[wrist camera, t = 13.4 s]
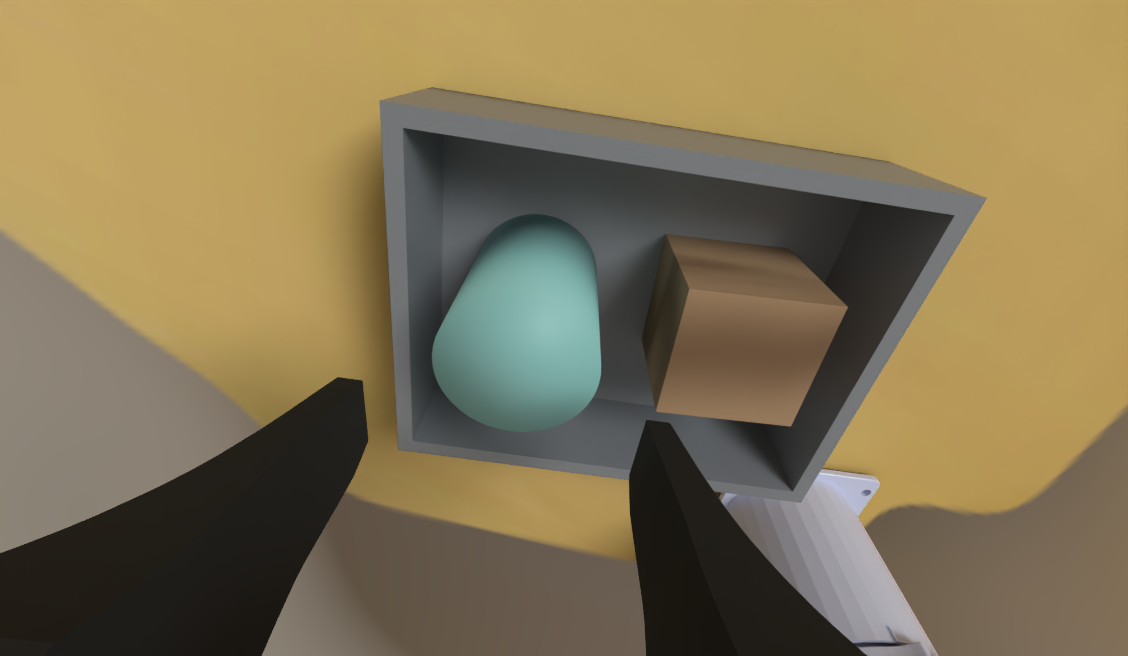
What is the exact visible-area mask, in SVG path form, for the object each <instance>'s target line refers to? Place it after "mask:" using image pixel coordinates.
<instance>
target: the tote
mask: <svg viewBox="0 0 1128 656" xmlns="http://www.w3.org/2000/svg"><path fill="white" fill-rule="evenodd" d="M380 116H381V135H382V153H383V172H384V191H385V209H386V228H387V247H388V265H389V284H390V303H391V321H392V340H393V359H394V377H395V396H396V415H397V433H398V450H404V451H411V452H419V453H427V454H434V455H442V456H449V457H457V458H465V459H472V460H480V461H487V462H495V463H502V464H510V465H518V466H525V467H533V468H540V469H548V470H556V471H563V472H571V473H578V474H586V475H594V476H601V477H609V478H616V479H624V480H629V474H630V471H631V467H632V464H633V461H634V458H635V454H636V451H637V448H638V445H639V442H640V438H641V435H642V432H643V429H644V425H645V422H646V420H653V421H660V422H668V423H670V424H671V425H672V427H673V428H674V430H675V431H676V433H677V435H678V436H679V438H680V440H681V441H682V443H683V444H684V446H685V448H686V449H687V451H688V453H689V454H690V456H691V457H692V459H693V461H694V462H695V464H696V465H697V467H698V468H699V470H700V471H701V473H702V474H703V476H704V477H705V479H706V480H707V482H708V483H709V485H710V486H711V488H712V489H713V491H715V492H723V493H730V494H738V495H745V496H753V497H761V498H768V499H776V500H783V501H791V502H799V503H801V502H802V500H803V499H804V497H805V495H806V494H807V492H808V491H809V489H810V487H811V486H812V484H813V482H814V481H815V479H816V477H817V476H818V474H819V473H820V471H821V469H822V468H823V466H824V464H825V463H826V461H827V459H828V458H829V456H830V455H831V453H832V451H833V450H834V448H835V446H836V445H837V443H838V441H839V440H840V438H841V436H842V435H843V433H844V432H845V430H846V428H847V427H848V425H849V423H850V422H851V420H852V418H853V417H854V415H855V414H856V412H857V410H858V409H859V407H860V405H861V404H862V402H863V400H864V399H865V397H866V395H867V394H868V392H869V391H870V389H871V387H872V386H873V384H874V382H875V381H876V379H877V377H878V376H879V374H880V373H881V371H882V369H883V368H884V366H885V364H886V363H887V361H888V359H889V358H890V356H891V355H892V353H893V351H894V350H895V348H896V346H897V345H898V343H899V341H900V340H901V338H902V336H903V335H904V333H905V332H906V330H907V328H908V327H909V325H910V323H911V322H912V320H913V318H914V317H915V315H916V314H917V312H918V310H919V309H920V307H921V305H922V304H923V302H924V300H925V299H926V297H927V295H928V294H929V292H930V291H931V289H932V287H933V286H934V284H935V282H936V281H937V279H938V277H939V276H940V274H941V273H942V271H943V269H944V268H945V266H946V264H947V263H948V261H949V259H950V258H951V256H952V255H953V253H954V251H955V250H956V248H957V246H958V245H959V243H960V241H961V240H962V238H963V236H964V235H965V233H966V232H967V230H968V228H969V227H970V225H971V223H972V222H973V220H974V218H975V217H976V215H977V214H978V212H979V210H980V209H981V207H982V205H983V204H984V202H985V200H986V199H987V198H985V197H982V196H980V195H977V194H974V193H972V192H969V191H966V190H964V189H961V188H958V187H956V186H953V185H950V184H948V183H945V182H942V181H940V180H937V179H934V178H932V177H929V176H926V175H924V174H921V173H918V172H916V171H913V170H910V169H908V168H905V167H902V166H900V165H897V164H894V163H891V162H888V161H882V160H876V159H870V158H864V157H857V156H851V155H845V154H839V153H833V152H827V151H820V150H814V149H808V148H802V147H796V146H790V145H784V144H777V143H771V142H765V141H759V140H753V139H747V138H740V137H734V136H728V135H722V134H716V133H710V132H703V131H697V130H691V129H685V128H679V127H673V126H667V125H660V124H654V123H648V122H642V121H636V120H630V119H623V118H617V117H611V116H605V115H599V114H593V113H587V112H580V111H574V110H568V109H562V108H556V107H550V106H543V105H537V104H531V103H525V102H519V101H513V100H506V99H500V98H494V97H488V96H482V95H476V94H470V93H463V92H457V91H451V90H445V89H439V88H433V87H431V88H427V89H423V90H419V91H415V92H412V93H408V94H404V95H400V96H396V97H392V98H388V99H384V100H380ZM527 214H543V215H549V216H553V217H556V218H558V219H561V220H563V221H565V222H567V223H569V224H570V225H572V226H573V227H574V228H576V229H577V230H578V231H579V232H580V233H581V234H582V235H583V236H584V238H585V239H586V240H587V242H588V243H589V245H590V247H591V249H592V251H593V254H594V257H595V261H596V268H597V289H598V309H599V330H600V350H601V377H600V382H599V385H598V388H597V391H596V393H595V394H594V396H593V398H592V400H591V401H590V402H589V404H588V405H587V406H586V407H585V408H584V409H583V410H582V411H581V412H580V413H579V414H577V415H576V416H575V417H573V418H572V419H570V420H568V421H567V422H565V423H563V424H560V425H558V426H556V427H552V428H549V429H545V430H540V431H531V432H515V431H506V430H501V429H497V428H494V427H490V426H487V425H485V424H483V423H480V422H478V421H476V420H474V419H472V418H471V417H469V416H467V415H466V414H464V413H463V412H462V411H460V410H459V409H458V408H457V407H456V406H455V405H453V403H452V402H451V401H450V400H449V399H448V398H447V397H446V395H445V394H444V392H443V391H442V390H441V388H440V386H439V384H438V382H437V380H436V377H435V374H434V370H433V365H432V350H433V344H434V340H435V337H436V335H437V333H438V331H439V329H440V327H441V325H442V323H443V321H444V319H445V317H446V315H447V313H448V311H449V309H450V308H451V306H452V304H453V302H454V300H455V298H456V296H457V294H458V292H459V290H460V288H461V286H462V285H463V283H464V281H465V279H466V277H467V275H468V273H469V271H470V269H471V267H472V265H473V263H474V262H475V260H476V258H477V256H478V254H479V252H480V250H481V248H482V246H483V244H484V242H485V241H486V239H487V238H488V236H489V235H490V234H491V233H492V231H493V230H494V229H495V228H497V227H498V226H499V225H500V224H502V223H504V222H505V221H507V220H509V219H512V218H514V217H517V216H521V215H527ZM666 234H671V235H680V236H688V237H696V238H705V239H713V240H722V241H730V242H739V243H747V244H756V245H764V246H773V247H781V248H789V249H790V250H791V251H792V252H793V253H794V254H795V255H796V256H797V257H798V258H799V259H800V260H801V261H802V262H803V263H804V264H805V265H806V266H807V267H808V268H809V269H810V270H811V271H812V272H813V273H814V274H815V275H816V276H817V277H818V278H819V279H820V280H821V281H822V282H823V283H824V284H825V285H826V286H827V287H828V288H829V289H830V290H831V291H832V292H833V293H834V294H835V295H836V296H837V297H838V298H839V299H840V300H841V301H842V302H843V303H844V304H845V305H846V306H847V307H848V308H847V310H846V312H845V315H844V317H843V319H842V321H841V323H840V325H839V327H838V329H837V331H836V333H835V335H834V338H833V340H832V342H831V344H830V346H829V348H828V350H827V352H826V354H825V356H824V359H823V361H822V363H821V365H820V367H819V369H818V371H817V373H816V375H815V377H814V379H813V382H812V384H811V386H810V388H809V390H808V392H807V394H806V396H805V398H804V400H803V402H802V405H801V407H800V409H799V411H798V413H797V415H796V417H795V419H794V421H793V423H792V426H791V427H790V426H781V425H772V424H763V423H754V422H745V421H736V420H727V419H717V418H708V417H699V416H690V415H681V414H672V413H663V412H656V410H655V405H654V399H653V394H652V389H651V384H650V379H649V374H648V368H647V363H646V358H645V353H644V348H643V343H642V335H643V331H644V327H645V322H646V318H647V314H648V309H649V305H650V301H651V296H652V292H653V287H654V283H655V279H656V274H657V270H658V266H659V261H660V257H661V252H662V248H663V244H664V239H665V235H666Z"/></svg>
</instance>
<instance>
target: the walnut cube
mask: <svg viewBox="0 0 1128 656" xmlns="http://www.w3.org/2000/svg"><path fill="white" fill-rule="evenodd" d="M847 308H848V307H847V306H846V305H845V304H844V303H843V302H842V301H841V300H840V299H839V298H838V297H837V296H836V295H835V294H834V293H833V292H832V291H831V290H830V289H829V288H828V287H827V286H826V285H825V284H824V283H823V282H822V281H821V280H820V279H819V278H818V277H817V276H816V275H815V274H814V273H813V272H812V271H811V270H810V269H809V268H808V267H807V266H806V265H805V264H804V263H803V262H802V261H801V260H800V259H799V258H798V257H797V256H796V255H795V254H794V253H793V252H792V251H791V250H790V249H789V248H781V247H773V246H764V245H756V244H747V243H739V242H730V241H722V240H713V239H705V238H696V237H688V236H680V235H671V234H666V235H665V239H664V244H663V248H662V252H661V257H660V261H659V266H658V270H657V274H656V279H655V283H654V287H653V292H652V296H651V301H650V305H649V309H648V314H647V318H646V322H645V327H644V331H643V335H642V343H643V348H644V353H645V358H646V363H647V368H648V374H649V379H650V384H651V389H652V394H653V399H654V405H655V410H656V412H663V413H672V414H681V415H690V416H699V417H708V418H717V419H727V420H736V421H745V422H754V423H763V424H772V425H781V426H790V427H791V426H792V423H793V421H794V419H795V417H796V415H797V413H798V411H799V409H800V407H801V405H802V402H803V400H804V398H805V396H806V394H807V392H808V390H809V388H810V386H811V384H812V382H813V379H814V377H815V375H816V373H817V371H818V369H819V367H820V365H821V363H822V361H823V359H824V356H825V354H826V352H827V350H828V348H829V346H830V344H831V342H832V340H833V338H834V335H835V333H836V331H837V329H838V327H839V325H840V323H841V321H842V319H843V317H844V315H845V312H846V310H847Z"/></svg>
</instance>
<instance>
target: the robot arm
mask: <svg viewBox="0 0 1128 656" xmlns="http://www.w3.org/2000/svg"><path fill="white" fill-rule="evenodd" d="M367 442H368V432H367V422H366V412H365V402H364V392H363V381H361V380H354V379H347V378H339V377H338V378H336V379H335V380H333V381H331V382H330V383H328V384H327V385H326V386H324V387H323V388H321V389H320V390H318V391H317V392H315V393H314V394H312V395H311V396H310V397H308V398H307V399H305V400H304V401H302V402H301V403H299V404H298V405H296V406H295V407H293V408H292V409H291V410H289V411H288V412H286V413H285V414H283V415H282V416H280V417H279V418H277V419H276V420H274V421H273V422H271V423H270V424H268V425H267V426H265V427H263V428H262V429H260V430H259V431H257V432H256V433H254V434H252V435H251V436H249V437H247V438H246V439H244V440H242V441H241V442H239V443H237V444H236V445H234V446H233V447H231V448H230V449H228V450H226V451H224V452H223V453H221V454H219V455H218V456H216V457H214V458H212V459H211V460H209V461H207V462H205V463H203V464H202V465H200V466H198V467H196V468H195V469H193V470H191V471H189V472H187V473H185V474H183V475H181V476H179V477H177V478H175V479H173V480H171V481H169V482H167V483H166V484H164V485H162V486H160V487H157V488H155V489H153V490H151V491H149V492H147V493H145V494H143V495H140V496H138V497H136V498H134V499H132V500H129V501H127V502H125V503H123V504H121V505H118V506H116V507H114V508H112V509H110V510H107V511H105V512H103V513H101V514H99V515H96V516H94V517H92V518H89V519H87V520H85V521H82V522H80V523H77V524H75V525H73V526H70V527H68V528H65V529H63V530H60V531H58V532H55V533H53V534H50V535H47V536H45V537H42V538H40V539H37V540H35V541H32V542H29V543H27V544H24V545H22V546H19V547H16V548H13V549H11V550H8V551H5V552H3V553H0V656H262V653H263V651H264V649H265V647H266V644H267V642H268V639H269V637H270V635H271V633H272V630H273V628H274V626H275V624H276V621H277V619H278V617H279V615H280V612H281V610H282V608H283V606H284V604H285V602H286V599H287V597H288V595H289V593H290V591H291V588H292V586H293V584H294V582H295V580H296V578H297V576H298V574H299V572H300V570H301V568H302V566H303V564H304V563H305V561H306V559H307V557H308V555H309V554H310V552H311V550H312V548H313V547H314V545H315V543H316V541H317V540H318V538H319V536H320V534H321V533H322V531H323V529H324V528H325V526H326V524H327V522H328V521H329V519H330V517H331V515H332V514H333V512H334V510H335V509H336V507H337V505H338V503H339V501H340V500H341V498H342V496H343V494H344V493H345V491H346V489H347V487H348V486H349V484H350V482H351V480H352V478H353V476H354V474H355V472H356V469H357V467H358V465H359V462H360V460H361V457H362V455H363V452H364V450H365V447H366V445H367ZM879 486H880V483H879V481H878V480H877V478H876V477H874V476H871V475H864V474H856V473H849V472H841V471H834V470H826V469H821V471H820V473H819V474H818V476H817V477H816V479H815V481H814V482H813V484H812V486H811V487H810V489H809V491H808V492H807V494H806V495H805V497H804V499H803V500H802V502H801V503H799V502H791V501H783V500H776V499H768V498H761V497H753V496H745V495H738V494H730V493H723V492H721V495H720V497H719V498H718V496H717V495H716V494H715V492H714V491H713V489H712V488H711V486H710V485H709V483H708V482H707V480H706V479H705V477H704V476H703V474H702V473H701V471H700V470H699V468H698V467H697V465H696V464H695V462H694V461H693V459H692V457H691V456H690V454H689V453H688V451H687V449H686V448H685V446H684V444H683V443H682V441H681V440H680V438H679V436H678V435H677V433H676V431H675V430H674V428H673V427H672V425H671V424H670V423H668V422H660V421H653V420H646V422H645V425H644V429H643V432H642V435H641V438H640V442H639V445H638V448H637V451H636V454H635V458H634V461H633V464H632V467H631V471H630V474H629V498H630V517H631V525H632V532H633V539H634V546H635V553H636V560H637V567H638V574H639V580H640V588H641V595H642V602H643V610H644V621H645V640H646V656H938V654H937V653H936V651H935V649H934V647H933V646H932V644H931V642H930V641H929V639H928V637H927V635H926V634H925V632H924V630H923V629H922V627H921V625H920V623H919V622H918V620H917V618H916V616H915V615H914V613H913V611H912V610H911V608H910V606H909V604H908V603H907V601H906V599H905V598H904V596H903V594H902V592H901V591H900V589H899V587H898V585H897V584H896V582H895V580H894V579H893V577H892V575H891V574H890V572H889V570H888V568H887V567H886V565H885V563H884V561H883V560H882V558H881V556H880V555H879V553H878V551H877V549H876V548H875V546H874V544H873V542H872V541H871V539H870V537H869V536H868V534H867V532H866V530H865V529H864V527H863V525H862V523H861V522H860V520H859V518H858V515H859V514H860V513H861V511H862V510H863V509H864V507H865V506H866V504H867V503H868V502H869V500H870V499H871V497H872V496H873V495H874V493H875V492H876V491H877V489H878V488H879Z"/></svg>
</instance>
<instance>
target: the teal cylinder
mask: <svg viewBox="0 0 1128 656" xmlns="http://www.w3.org/2000/svg"><path fill="white" fill-rule="evenodd" d="M432 365H433V370H434V374H435V377H436V380H437V382H438V384H439V386H440V388H441V390H442V391H443V392H444V394H445V395H446V397H447V398H448V399H449V400H450V401H451V402H452V403H453V405H455V406H456V407H457V408H458V409H459V410H460V411H462V412H463V413H464V414H466V415H467V416H469V417H471V418H472V419H474V420H476V421H478V422H480V423H483V424H485V425H487V426H490V427H494V428H497V429H501V430H506V431H515V432H531V431H540V430H545V429H549V428H552V427H556V426H558V425H560V424H563V423H565V422H567V421H568V420H570V419H572V418H573V417H575V416H576V415H577V414H579V413H580V412H581V411H582V410H583V409H584V408H585V407H586V406H587V405H588V404H589V402H590V401H591V400H592V398H593V396H594V394H595V393H596V391H597V388H598V385H599V382H600V377H601V350H600V330H599V309H598V289H597V268H596V261H595V257H594V254H593V251H592V249H591V247H590V245H589V243H588V242H587V240H586V239H585V238H584V236H583V235H582V234H581V233H580V232H579V231H578V230H577V229H576V228H574V227H573V226H572V225H570V224H569V223H567V222H565V221H563V220H561V219H558V218H556V217H553V216H549V215H543V214H527V215H521V216H517V217H514V218H512V219H509V220H507V221H505V222H504V223H502V224H500V225H499V226H498V227H497V228H495V229H494V230H493V231H492V233H491V234H490V235H489V236H488V238H487V239H486V241H485V242H484V244H483V246H482V248H481V250H480V252H479V254H478V256H477V258H476V260H475V262H474V263H473V265H472V267H471V269H470V271H469V273H468V275H467V277H466V279H465V281H464V283H463V285H462V286H461V288H460V290H459V292H458V294H457V296H456V298H455V300H454V302H453V304H452V306H451V308H450V309H449V311H448V313H447V315H446V317H445V319H444V321H443V323H442V325H441V327H440V329H439V331H438V333H437V335H436V337H435V340H434V344H433V350H432Z"/></svg>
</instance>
